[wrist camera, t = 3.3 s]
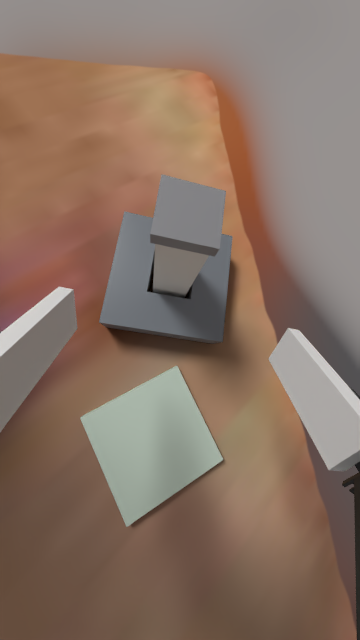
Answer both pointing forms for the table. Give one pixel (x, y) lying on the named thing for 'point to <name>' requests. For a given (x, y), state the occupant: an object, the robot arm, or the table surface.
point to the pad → (150, 443)
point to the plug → (184, 233)
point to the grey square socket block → (157, 309)
